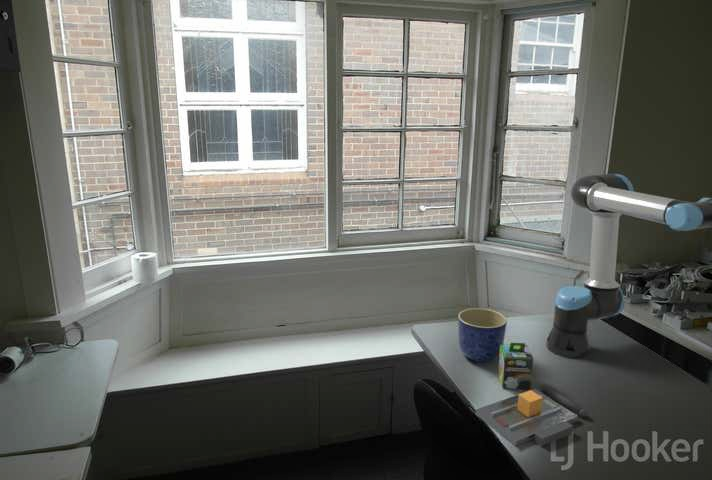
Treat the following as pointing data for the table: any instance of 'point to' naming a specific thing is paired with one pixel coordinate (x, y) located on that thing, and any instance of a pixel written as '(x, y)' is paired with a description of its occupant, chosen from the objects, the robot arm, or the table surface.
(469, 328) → the planter
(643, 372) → the table surface
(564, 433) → the grey bar
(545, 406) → the breaker panel
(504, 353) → the chalk box
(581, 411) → the dark grey rod
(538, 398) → the block
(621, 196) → the robot arm
